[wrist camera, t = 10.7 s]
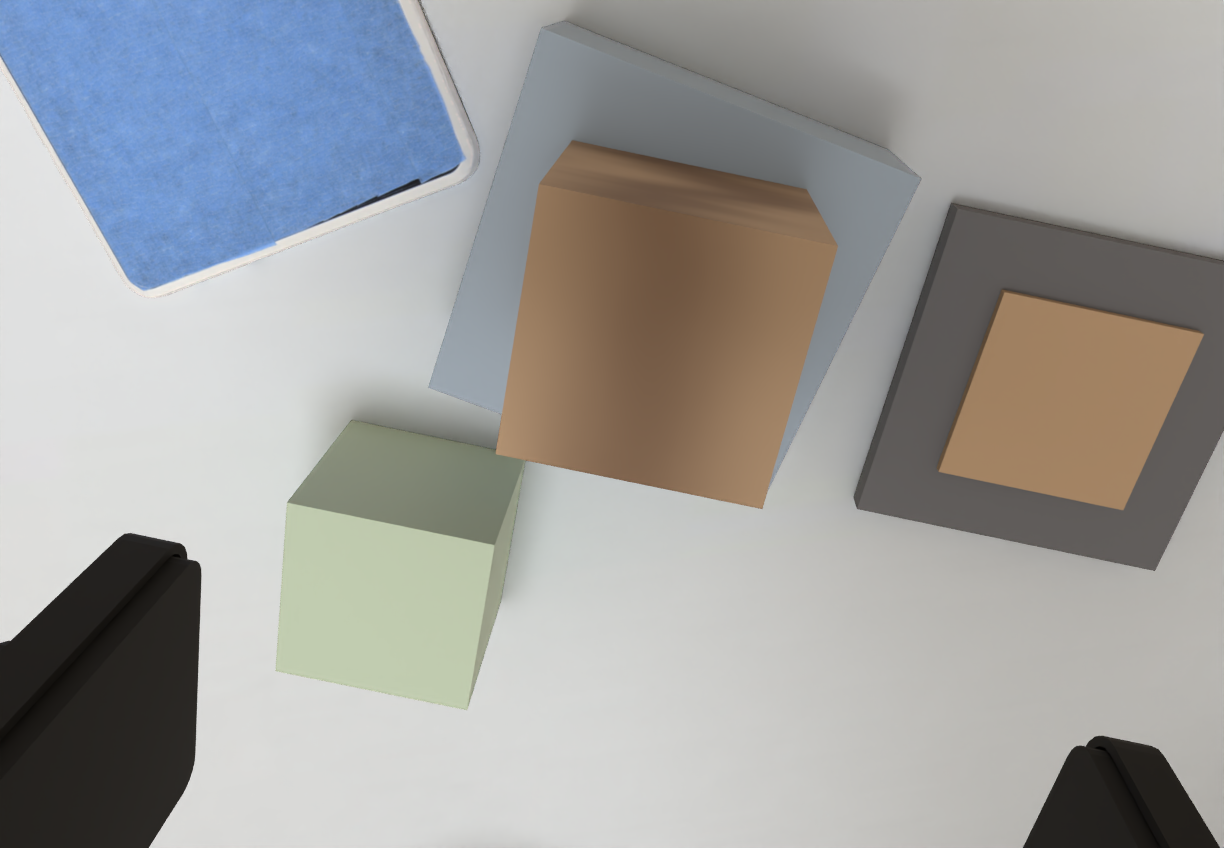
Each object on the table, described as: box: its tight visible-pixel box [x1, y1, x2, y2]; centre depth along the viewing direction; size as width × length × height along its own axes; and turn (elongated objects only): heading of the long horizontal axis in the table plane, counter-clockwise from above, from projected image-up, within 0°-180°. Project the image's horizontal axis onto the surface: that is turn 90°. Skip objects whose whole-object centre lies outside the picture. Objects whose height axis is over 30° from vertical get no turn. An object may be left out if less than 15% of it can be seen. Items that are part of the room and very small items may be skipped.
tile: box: [854, 203, 1224, 571], centre depth 31 cm, size 10×10×1 cm
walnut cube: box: [496, 140, 838, 509], centre depth 24 cm, size 6×6×6 cm
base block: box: [428, 21, 921, 489], centre depth 29 cm, size 10×10×5 cm
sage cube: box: [276, 420, 525, 710], centre depth 33 cm, size 6×6×6 cm
